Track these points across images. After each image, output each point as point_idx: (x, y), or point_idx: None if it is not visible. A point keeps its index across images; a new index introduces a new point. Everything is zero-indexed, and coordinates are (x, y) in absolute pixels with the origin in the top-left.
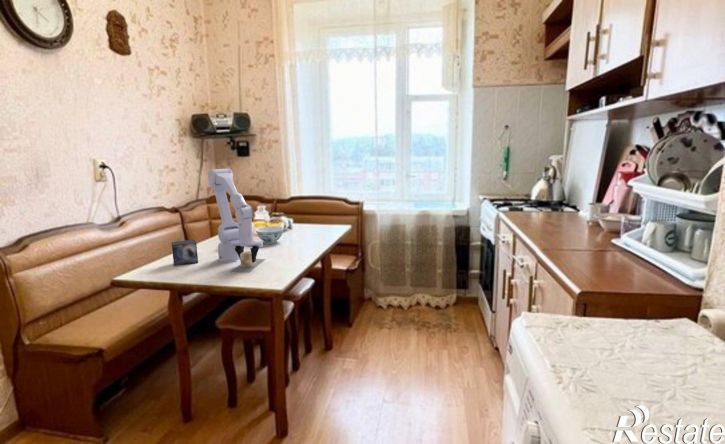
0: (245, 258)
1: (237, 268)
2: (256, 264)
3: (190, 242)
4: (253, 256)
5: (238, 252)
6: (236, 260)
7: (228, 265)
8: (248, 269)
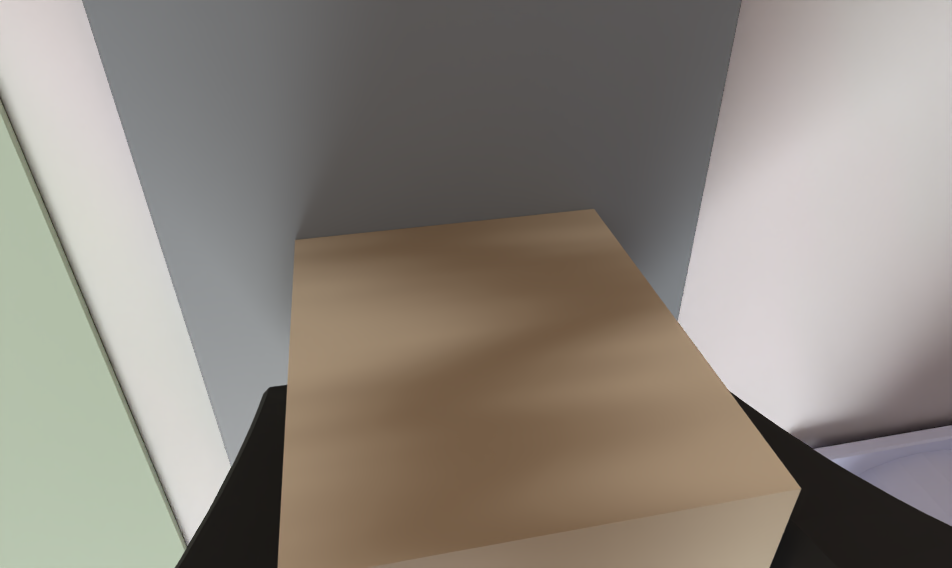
0: (513, 386)
1: (648, 65)
2: None
3: None
4: (212, 542)
5: (912, 559)
6: None
7: (903, 276)
8: (257, 15)
